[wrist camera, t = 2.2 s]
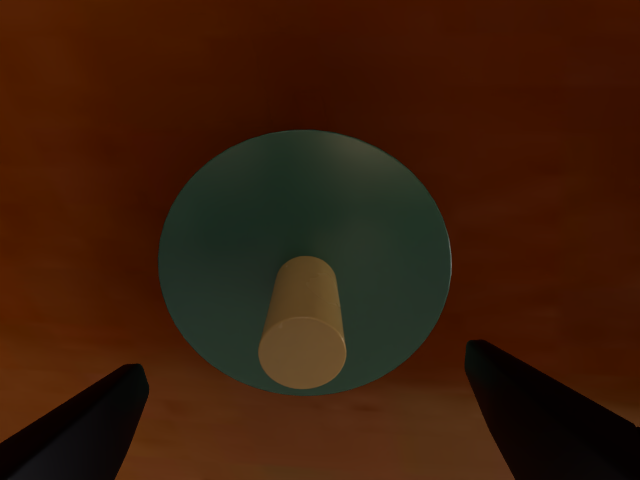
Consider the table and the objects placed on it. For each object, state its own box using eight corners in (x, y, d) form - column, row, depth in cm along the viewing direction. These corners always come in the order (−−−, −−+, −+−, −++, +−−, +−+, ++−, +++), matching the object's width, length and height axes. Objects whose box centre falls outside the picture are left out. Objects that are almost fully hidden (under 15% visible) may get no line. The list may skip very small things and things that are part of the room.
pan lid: (487, 302, 15) (577, 394, 10) (279, 414, 18) (263, 539, 12) (348, 59, 12) (375, 5, 6) (108, 240, 14) (-17, 309, 9)
